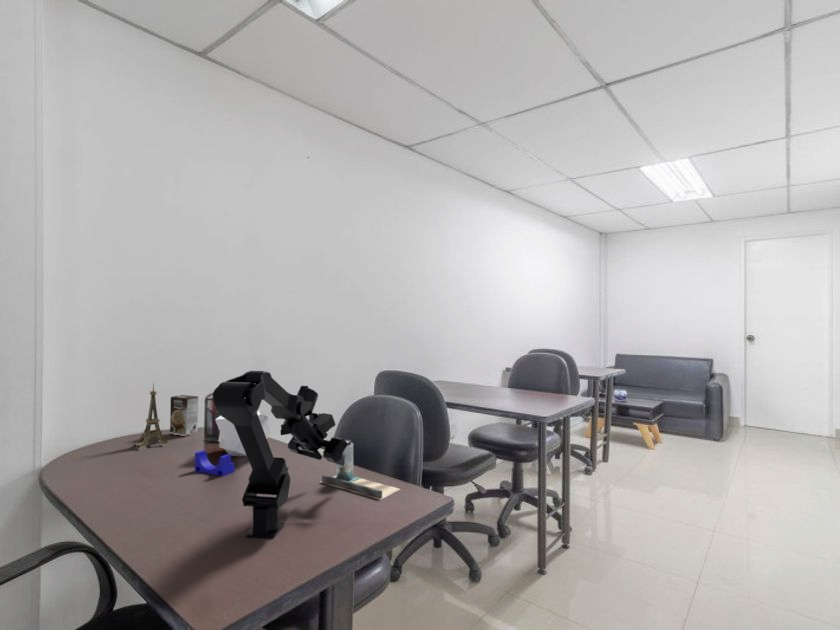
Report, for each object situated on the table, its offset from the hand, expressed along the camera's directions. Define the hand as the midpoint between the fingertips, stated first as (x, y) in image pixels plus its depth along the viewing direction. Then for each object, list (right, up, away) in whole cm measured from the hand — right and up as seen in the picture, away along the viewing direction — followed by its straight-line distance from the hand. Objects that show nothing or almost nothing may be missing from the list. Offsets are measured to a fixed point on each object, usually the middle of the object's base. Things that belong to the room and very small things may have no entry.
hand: (332, 461), depth 128 cm
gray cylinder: (+3, -7, +4) cm, 9 cm away
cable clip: (-40, -8, +13) cm, 43 cm away
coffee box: (-75, -9, +60) cm, 96 cm away
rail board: (+8, -8, -1) cm, 11 cm away
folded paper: (-38, -8, +32) cm, 50 cm away
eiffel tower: (-78, -8, +43) cm, 90 cm away
